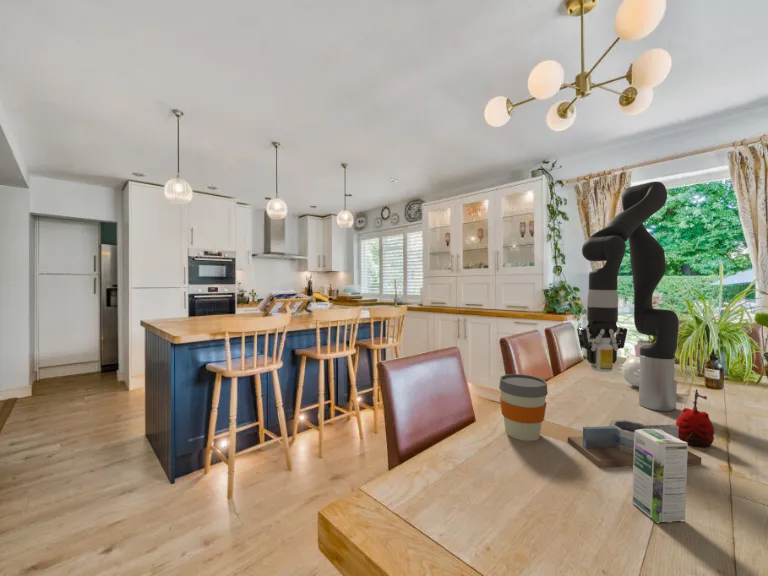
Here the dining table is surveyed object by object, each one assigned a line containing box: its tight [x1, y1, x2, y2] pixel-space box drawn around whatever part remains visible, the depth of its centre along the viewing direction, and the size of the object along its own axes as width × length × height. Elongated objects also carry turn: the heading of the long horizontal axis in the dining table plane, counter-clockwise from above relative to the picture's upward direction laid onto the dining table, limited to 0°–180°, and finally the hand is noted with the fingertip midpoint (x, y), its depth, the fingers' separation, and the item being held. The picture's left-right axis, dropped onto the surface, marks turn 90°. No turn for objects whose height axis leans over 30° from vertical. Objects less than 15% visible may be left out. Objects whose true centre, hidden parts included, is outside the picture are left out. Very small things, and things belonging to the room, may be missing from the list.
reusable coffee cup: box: [499, 373, 549, 442], centre depth 95 cm, size 13×13×15 cm
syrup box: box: [631, 429, 689, 523], centre depth 63 cm, size 6×6×14 cm
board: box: [567, 435, 702, 468], centre depth 85 cm, size 25×12×2 cm, turn 94°
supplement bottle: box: [590, 338, 614, 373], centre depth 99 cm, size 5×5×10 cm
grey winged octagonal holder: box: [582, 419, 679, 455], centre depth 85 cm, size 24×8×5 cm, turn 94°
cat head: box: [616, 353, 640, 389], centre depth 136 cm, size 15×13×12 cm
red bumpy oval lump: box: [675, 389, 715, 448], centre depth 90 cm, size 8×7×15 cm
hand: (601, 362), depth 99 cm, fingers closed on supplement bottle, 5 cm apart
